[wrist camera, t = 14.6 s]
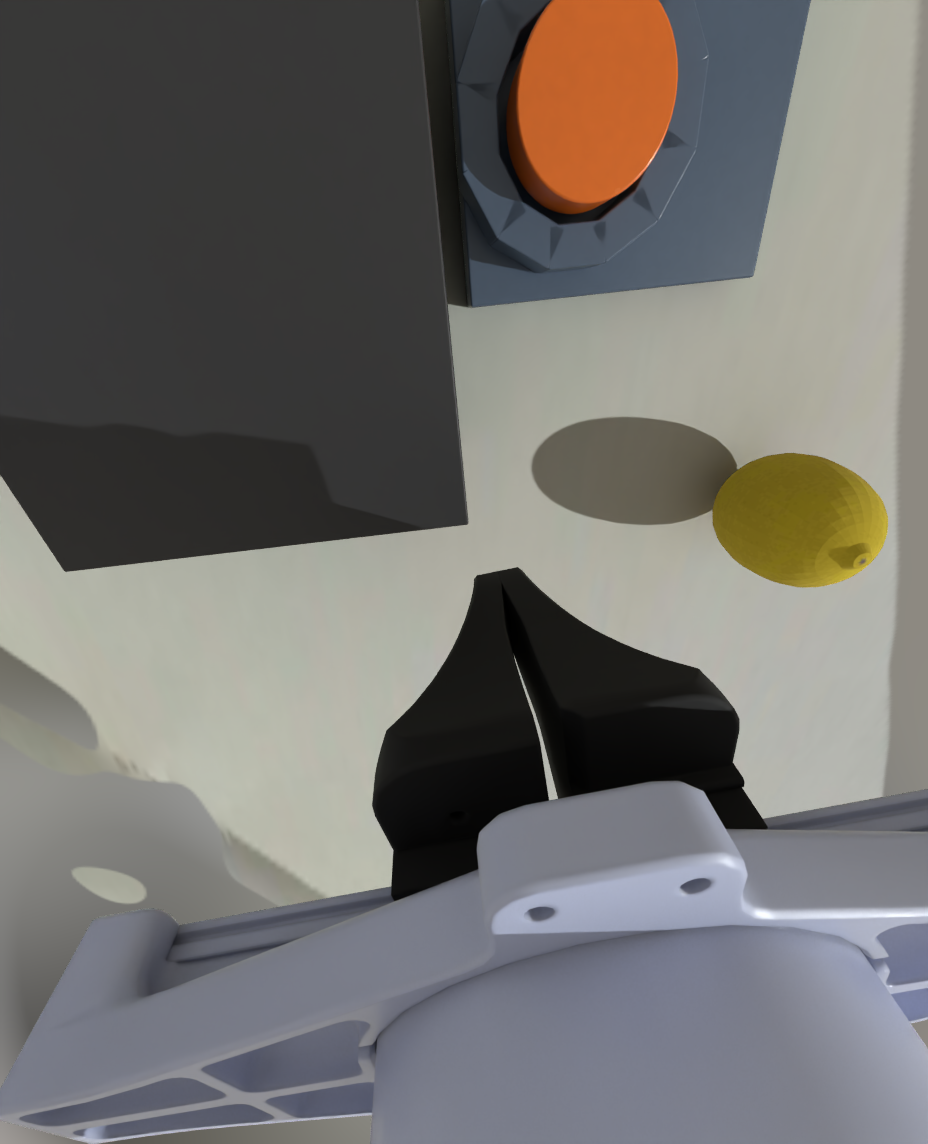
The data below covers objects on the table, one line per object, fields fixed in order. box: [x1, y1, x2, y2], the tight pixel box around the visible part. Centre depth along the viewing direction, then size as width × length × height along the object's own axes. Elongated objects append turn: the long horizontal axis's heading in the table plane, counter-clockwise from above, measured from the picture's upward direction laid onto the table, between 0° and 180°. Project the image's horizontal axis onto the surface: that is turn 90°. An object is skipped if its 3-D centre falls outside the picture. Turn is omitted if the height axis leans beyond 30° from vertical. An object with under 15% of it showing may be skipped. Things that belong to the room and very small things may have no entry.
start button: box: [506, 0, 678, 214], centre depth 12 cm, size 4×4×2 cm
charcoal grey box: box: [0, 0, 468, 572], centre depth 14 cm, size 15×13×9 cm
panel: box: [444, 0, 811, 308], centre depth 14 cm, size 11×9×4 cm
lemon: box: [713, 453, 888, 587], centre depth 20 cm, size 6×6×8 cm
